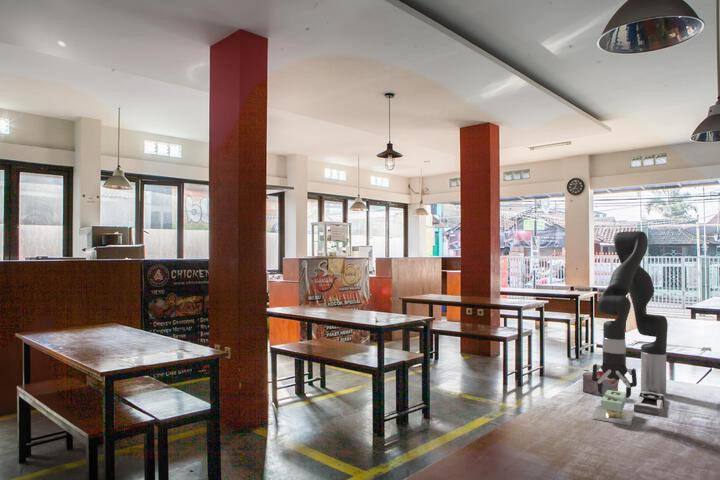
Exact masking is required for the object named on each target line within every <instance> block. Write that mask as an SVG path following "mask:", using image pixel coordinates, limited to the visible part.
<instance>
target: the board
mask: <svg viewBox="0 0 720 480" xmlns="http://www.w3.org/2000/svg"><path fill="white" fill-rule="evenodd" d="M615 393H616V394H617V395H614V394H615ZM611 399H613V400H614V401H610V400H611ZM626 403H627V398H626V391H625V392H624V391H619V390H618V391H612V390H607V391H606V393H605V394H604V396H602V398H601V400H600V406H601V409H606V410H611V411H617V412H622V410H624V407H625V405H626Z"/></svg>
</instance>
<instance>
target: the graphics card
mask: <svg viewBox="0 0 720 480" xmlns="http://www.w3.org/2000/svg"><path fill="white" fill-rule="evenodd" d="M638 395H639V396H638V398H637V400H636V403H635V404H633V411H635V413H636V412H638V413H643V414H649V415H652V416H654V415H655V416H659V417H663V418H664V417H666V414H664V413H665V412H666V410H665V409H664V407H665V402H666V398H665V397H666V396H664V395H663V394H656V393H653V392H644V391H642V392H641V391H640V392H639V394H638Z"/></svg>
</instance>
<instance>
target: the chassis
mask: <svg viewBox="0 0 720 480" xmlns="http://www.w3.org/2000/svg"><path fill="white" fill-rule="evenodd" d="M614 395H617V394H616V393H615V394H614ZM610 401H614V400H613V399H611V400H610ZM635 413H636V411H634V410H628V409H623V410H622V412H617V411H611V410H606V409H601V405H597V407H596V408H595V410H594V412H593V414H592V419H593V420H598V421H603V422H609V423H612V424H613V423H614V424H620V425H624V426H632V425H633V420H634V419H635V416H636V415H635Z"/></svg>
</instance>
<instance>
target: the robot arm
mask: <svg viewBox="0 0 720 480" xmlns="http://www.w3.org/2000/svg"><path fill="white" fill-rule="evenodd" d="M613 242H614V249H615V253H616V254H617V258H618V259H619V262H620V265H618V266H617V267H616V268H615V269H614V270H613V272H612V274H611V277H610V281H609V284H608V285H607V287H606V288H605V290H604V291H603V292H602V294H601V295H600V296H599V298H598V300H597V309H598V311H599V312H600V313H601V314H603V315H611V316H612V315H613V316H617V318H616V319H615V320H609V321H604V323H603V329H602V330H603V332H602V333H603V339H602V348H601V349H602V365H600V364H597V363H594V364H593V365H592V372H593V373H592V380H593V381H595V382H597V383H598V392H600V394H602V393H603V383H602V381H603V380H604V379H605V378H606V377H608V378H609V379H616V380H619V381H620V380H621V382H623V384H624V385H625V386H626V387H625V393H626V399H629V398H630V397H631V395H632V388H635V387H637V385H638V381H637V379H638V378H637V369H636V368H627V363H626V362H627V347H626V346H627V343H626V326H627V325H626V324H627V322H628V321H627V320H628V317H629V315H630V311H631V308H632V307H633V308H632V309H633V312H634V318H635V324H636V329H637V331H638V334H640V335H642V336H648V337H653V338H655V340H654V341H652V342H648V343H647V342H646V343H643V344H642V345H641V346H640V393H641V392H642V391H644V392H653V393H656V394H663V395H664V397H666V396H667V345H668V344H667V343H668V329H669V328H668V327H669V326H668V325H669V324H668V319H667V317H666V316H664V315H658V314H652V313H651V314H650V313H647V312H646V307H647V305H648V304H649V302H650V300H652V298H653V296H654V293H655V288H654V282H653V279H652V276H651V275H650V273H648V271H646V270H645V269H644V268H643V267H642V266H641V265H640V264H641V263H642V261H643V259H644V258H645V255H646V253H647V250H648V245H649V239H648V236H647V233H645V232H644V231H639V230H636V231H635V230H633V231H620V232H617V233H616V234H615V235H614V238H613ZM628 294H629V296H630V299H629V298H628V297H627V295H628ZM631 303H632V304H631ZM600 369H601V371H603V372H604V374H603V375H602V376H601V378H600V379H599V378H597V372H598V371H600ZM627 373H628V374H629V375H630V376H631V382H630V381H629V379H628V377H627V376H626V374H627Z"/></svg>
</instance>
